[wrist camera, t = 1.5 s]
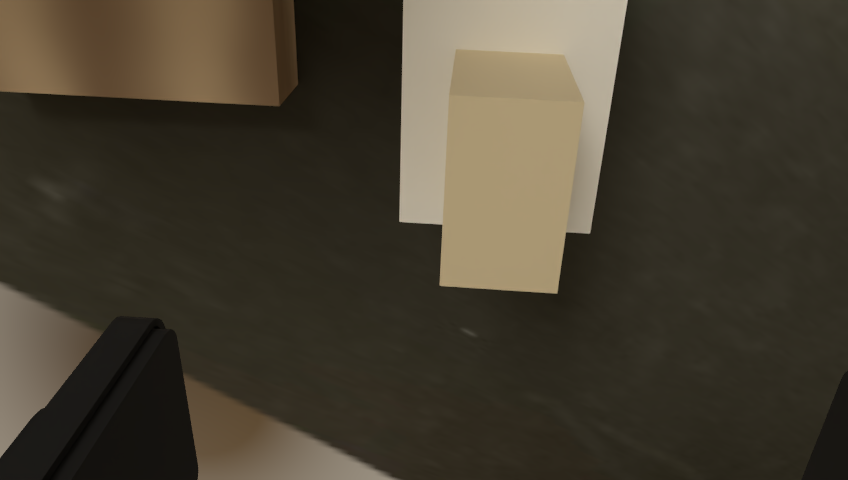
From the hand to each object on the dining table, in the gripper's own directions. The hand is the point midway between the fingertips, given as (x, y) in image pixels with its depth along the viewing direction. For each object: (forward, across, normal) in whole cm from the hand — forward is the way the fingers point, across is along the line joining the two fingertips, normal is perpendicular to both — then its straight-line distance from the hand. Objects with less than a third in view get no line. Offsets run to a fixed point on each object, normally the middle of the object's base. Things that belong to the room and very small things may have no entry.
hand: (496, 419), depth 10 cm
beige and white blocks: (+20, -1, -2) cm, 20 cm away
